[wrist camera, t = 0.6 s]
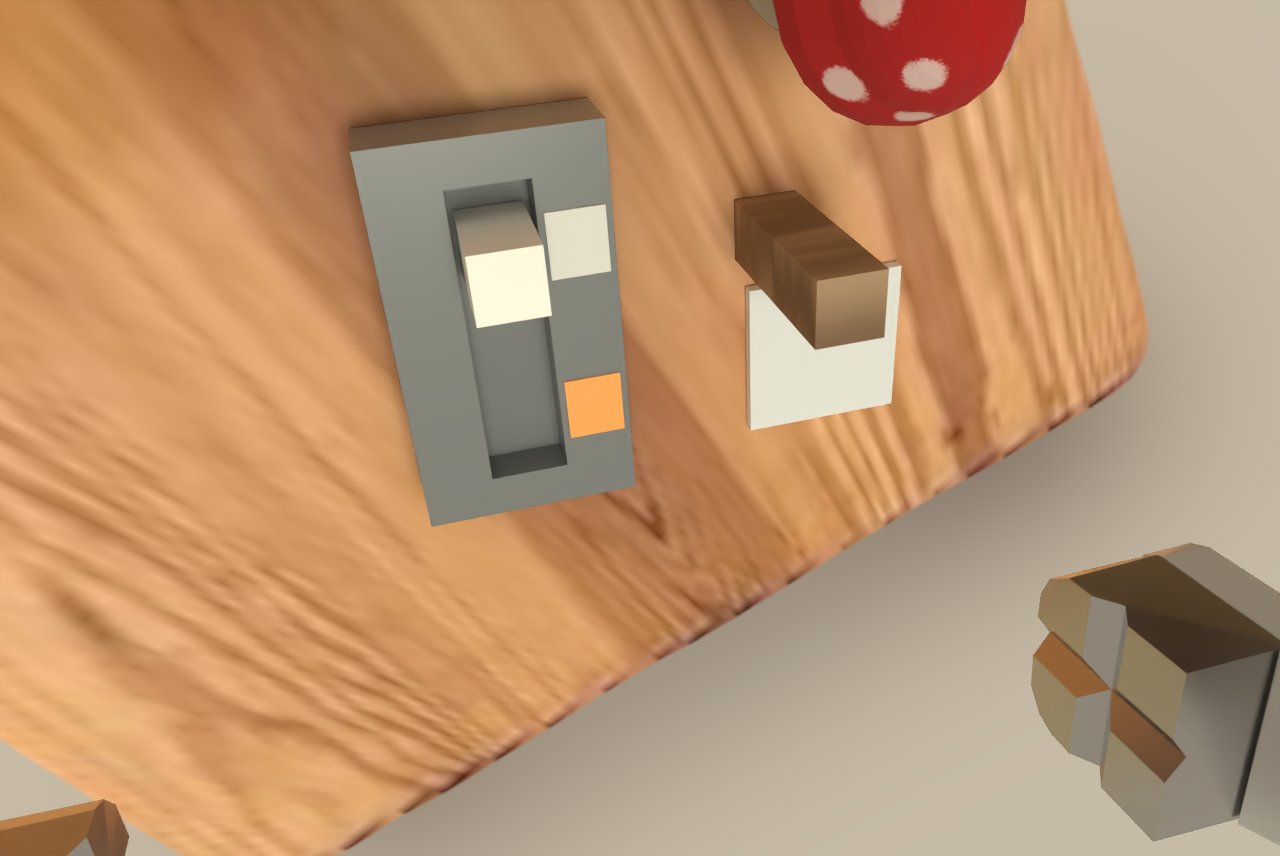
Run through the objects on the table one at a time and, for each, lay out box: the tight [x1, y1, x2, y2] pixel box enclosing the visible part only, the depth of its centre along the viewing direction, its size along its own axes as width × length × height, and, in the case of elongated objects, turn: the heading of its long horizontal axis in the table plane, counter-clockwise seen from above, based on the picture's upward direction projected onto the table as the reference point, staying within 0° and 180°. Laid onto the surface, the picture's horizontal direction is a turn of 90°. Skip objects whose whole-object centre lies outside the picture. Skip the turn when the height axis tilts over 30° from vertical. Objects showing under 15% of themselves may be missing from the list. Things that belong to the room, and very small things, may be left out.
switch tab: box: [452, 200, 552, 328], centre depth 42 cm, size 3×3×5 cm
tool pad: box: [745, 261, 901, 430], centre depth 53 cm, size 8×8×1 cm
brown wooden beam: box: [734, 190, 889, 350], centre depth 45 cm, size 3×3×10 cm
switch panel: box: [349, 98, 635, 527], centre depth 46 cm, size 18×10×4 cm, turn 4°
